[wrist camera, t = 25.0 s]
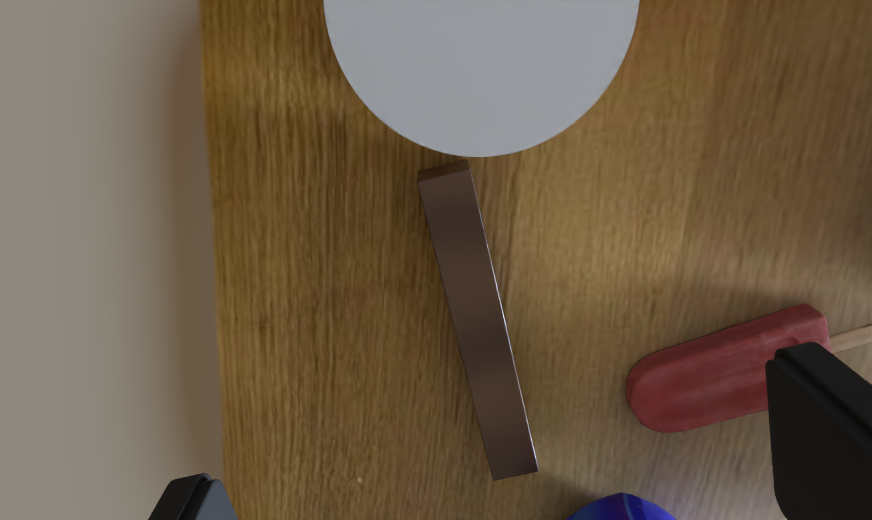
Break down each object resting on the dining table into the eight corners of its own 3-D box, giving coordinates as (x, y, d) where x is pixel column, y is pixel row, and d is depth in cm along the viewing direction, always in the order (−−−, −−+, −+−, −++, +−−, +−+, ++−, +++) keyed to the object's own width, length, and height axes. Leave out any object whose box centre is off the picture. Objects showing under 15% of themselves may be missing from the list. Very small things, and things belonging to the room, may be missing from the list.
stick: (417, 171, 30) (416, 181, 28) (467, 159, 30) (470, 168, 27) (488, 453, 35) (493, 481, 33) (531, 444, 35) (539, 471, 32)
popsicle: (942, 363, 31) (644, 448, 33) (917, 347, 33) (634, 429, 35) (934, 282, 30) (623, 375, 32) (908, 270, 32) (614, 358, 33)
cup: (525, -116, 26) (602, -239, 15) (571, 80, 29) (667, 105, 17) (338, -51, 27) (274, -121, 15) (399, 135, 29) (383, 193, 18)
